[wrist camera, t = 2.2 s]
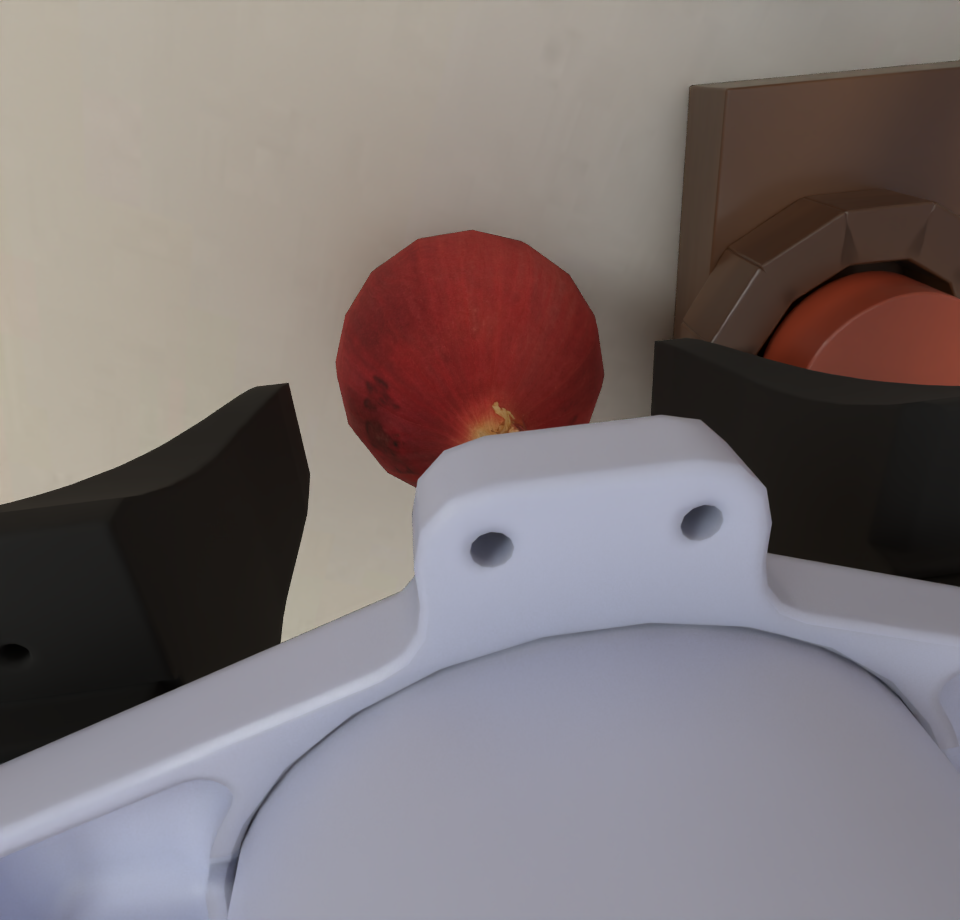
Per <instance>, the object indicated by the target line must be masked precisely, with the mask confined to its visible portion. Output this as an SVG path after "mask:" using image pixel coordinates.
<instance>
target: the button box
mask: <svg viewBox="0 0 960 920" xmlns="http://www.w3.org/2000/svg"><path fill="white" fill-rule="evenodd" d="M866 271H888V272H894V273H898V274H902V275H904V276H907V277H909V278H911V279H914V280H916V281H919V282H921V283H923V284H926V285H928V286H931V287H933V288H935V289H938V290H940V291H943V292H945V293H947V294H950V295H952V296H954V297H957V298H959V299H960V60H958V61H948V62H937V63H926V64H916V65H905V66H894V67H883V68H873V69H862V70H851V71H841V72H830V73H819V74H809V75H798V76H787V77H776V78H766V79H755V80H744V81H734V82H723V83H712V84H702V85H692V86H691V87H690V90H689V105H688V121H687V136H686V151H685V166H684V181H683V196H682V211H681V227H680V242H679V257H678V272H677V287H676V302H675V318H674V333H673V339H680V338H693V339H699V340H703V341H707V342H711V343H715V344H719V345H722V346H726V347H729V348H733V349H736V350H739V351H743V352H746V353H749V354H753V355H756V356H759V357H763V355H764V352H765V350H766V347H767V345H768V343H769V341H770V339H771V337H772V336H773V334H774V332H775V331H776V329H777V327H778V326H779V325H780V323H781V322H782V321H783V320H784V318H785V317H786V316H787V315H788V314H789V313H790V312H791V311H792V309H793V308H794V307H795V306H796V305H798V304H799V303H800V302H801V301H802V300H803V299H805V298H806V297H807V296H809V295H810V294H811V293H813V292H814V291H816V290H817V289H819V288H821V287H822V286H824V285H826V284H828V283H830V282H832V281H834V280H837V279H839V278H841V277H845V276H848V275H851V274H855V273H860V272H866Z"/></svg>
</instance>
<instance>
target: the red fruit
mask: <svg viewBox="0 0 960 920" xmlns="http://www.w3.org/2000/svg"><path fill="white" fill-rule="evenodd" d="M336 370H337V378H338V382H339V386H340V390H341V395H342V399H343V403H344V407H345V411H346V415H347V420H348V424H349V425H350V427H351V428H352V429H353V431H354V432H355V433H356V435H357V436H358V437H359V438H360V440H361V441H362V442H363V443H364V444H365V446H366V447H367V448H368V449H369V451H370V452H371V453H372V454H373V456H374V457H375V458H376V459H377V461H378V462H379V463H380V464H381V466H382V467H383V468H384V469H385V470H386V471H387V472H388V473H389V474H391V475H393V476H395V477H397V478H399V479H401V480H403V481H404V482H406V483H408V484H410V485H412V486H414V487H417V481H418V479H419V478H420V477H421V476H422V474H423V473H424V472H425V471H426V470H427V469H428V468H429V467H430V466H431V464H432V463H433V462H434V461H435V460H436V459H437V458H438V457H439V456H440V454H441V453H442V452H443V451H444V450H447V449H450V448H452V447H455V446H458V445H461V444H463V443H466V442H469V441H472V440H474V439H477V438H480V437H483V436H488V435H496V434H504V433H513V432H521V431H529V430H538V429H546V428H555V427H563V426H571V425H580V424H588V423H589V422H590V419H591V416H592V413H593V411H594V408H595V405H596V402H597V399H598V396H599V393H600V390H601V387H602V383H603V378H604V369H603V362H602V355H601V348H600V341H599V334H598V328H597V324H596V320H595V316H594V314H593V312H592V311H591V309H590V308H589V306H588V304H587V303H586V301H585V299H584V298H583V296H582V294H581V293H580V291H579V290H578V288H577V286H576V285H575V283H574V281H573V280H572V278H571V277H570V275H569V274H568V273H566V272H565V271H564V270H562V269H561V268H559V267H558V266H557V265H555V264H554V263H552V262H551V261H550V260H548V259H547V258H546V257H544V256H543V255H541V254H540V253H539V252H537V251H536V250H535V249H533V248H532V247H530V246H529V245H528V244H526V243H524V242H522V241H518V240H514V239H510V238H505V237H501V236H497V235H492V234H488V233H484V232H479V231H475V230H468V231H462V232H456V233H450V234H444V235H438V236H432V237H425V238H420V239H417V240H416V241H414V242H413V243H411V244H410V245H409V246H407V247H406V248H404V249H403V250H402V251H400V252H399V253H397V254H396V255H395V256H393V257H392V258H390V259H389V260H388V261H386V262H385V263H383V264H382V265H380V266H379V267H378V268H376V269H375V270H374V271H372V272H371V274H370V275H369V277H368V279H367V280H366V282H365V284H364V285H363V287H362V289H361V290H360V292H359V294H358V295H357V297H356V299H355V300H354V302H353V303H352V305H351V307H350V308H349V310H348V312H347V313H346V315H345V319H344V324H343V329H342V334H341V338H340V343H339V348H338V353H337V358H336Z"/></svg>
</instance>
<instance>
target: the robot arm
mask: <svg viewBox="0 0 960 920" xmlns="http://www.w3.org/2000/svg"><path fill="white" fill-rule="evenodd" d="M309 483H310V472H309V468H308V463H307V459H306V455H305V451H304V446H303V442H302V438H301V434H300V429H299V425H298V421H297V417H296V412H295V408H294V404H293V400H292V396H291V391H290V387H289V383H284V384H275V385H266V386H257V387H254V388H252V389H250V390H248V391H246V392H244V393H243V394H241V395H239V396H238V397H236V398H235V399H233V400H232V401H230V402H229V403H227V404H226V405H224V406H223V407H221V408H220V409H219V410H217V411H216V412H214V413H213V414H211V415H210V416H208V417H207V418H205V419H204V420H202V421H201V422H199V423H198V424H196V425H194V426H193V427H191V428H190V429H188V430H186V431H185V432H183V433H181V434H180V435H178V436H176V437H175V438H173V439H172V440H170V441H168V442H167V443H165V444H163V445H161V446H160V447H158V448H156V449H154V450H152V451H150V452H148V453H146V454H144V455H142V456H140V457H138V458H136V459H134V460H132V461H130V462H127V463H125V464H123V465H121V466H119V467H116V468H114V469H111V470H109V471H106V472H103V473H101V474H98V475H95V476H93V477H90V478H88V479H85V480H82V481H80V482H77V483H74V484H72V485H69V486H66V487H63V488H60V489H56V490H53V491H50V492H47V493H43V494H40V495H36V496H33V497H29V498H25V499H22V500H18V501H15V502H11V503H6V504H2V505H0V920H960V386H943V385H920V384H907V383H895V382H883V381H875V380H866V379H859V378H853V377H847V376H841V375H835V374H829V373H824V372H819V371H814V370H809V369H805V368H801V367H797V366H793V365H789V364H785V363H781V362H777V361H774V360H770V359H766V358H763V357H759V356H756V355H753V354H749V353H746V352H743V351H739V350H736V349H733V348H729V347H726V346H722V345H719V344H715V343H711V342H707V341H703V340H699V339H693V338H680V339H672V340H663V341H655V347H654V367H653V386H652V405H651V416H647V417H638V418H630V419H622V420H613V421H605V422H597V423H588V424H580V425H571V426H563V427H555V428H546V429H538V430H529V431H521V432H513V433H504V434H496V435H488V436H483V437H480V438H477V439H474V440H472V441H469V442H466V443H463V444H461V445H458V446H455V447H452V448H450V449H447V450H444V451H443V452H442V453H441V454H440V456H439V457H438V458H437V459H436V460H435V461H434V462H433V463H432V464H431V466H430V467H429V468H428V469H427V470H426V471H425V472H424V473H423V474H422V476H421V477H420V478H419V479H418V481H417V487H416V493H415V499H414V505H413V512H412V526H413V553H414V571H415V575H414V577H413V578H412V580H411V581H410V582H409V583H408V584H407V586H406V587H405V588H404V589H403V590H402V591H400V592H398V593H396V594H393V595H391V596H389V597H386V598H384V599H382V600H379V601H377V602H375V603H373V604H370V605H368V606H366V607H363V608H361V609H359V610H356V611H354V612H352V613H349V614H347V615H345V616H343V617H340V618H338V619H336V620H333V621H331V622H329V623H326V624H324V625H322V626H319V627H317V628H315V629H312V630H310V631H308V632H306V633H303V634H301V635H299V636H296V637H294V638H292V639H289V640H287V641H285V642H282V643H280V642H281V633H282V624H283V616H284V611H285V605H286V600H287V595H288V591H289V587H290V583H291V579H292V575H293V571H294V567H295V563H296V559H297V555H298V551H299V547H300V542H301V538H302V534H303V530H304V525H305V521H306V517H307V511H308V499H309Z"/></svg>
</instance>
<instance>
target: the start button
mask: <svg viewBox="0 0 960 920" xmlns="http://www.w3.org/2000/svg"><path fill="white" fill-rule="evenodd" d="M763 358H766V359H770V360H774V361H777V362H781V363H785V364H789V365H793V366H797V367H801V368H805V369H809V370H814V371H819V372H824V373H829V374H835V375H841V376H847V377H853V378H859V379H866V380H875V381H883V382H895V383H907V384H920V385H943V386H960V299H959V298H957V297H954V296H952V295H950V294H947V293H945V292H943V291H940V290H938V289H935V288H933V287H931V286H928V285H926V284H923V283H921V282H919V281H916V280H914V279H911V278H909V277H907V276H904V275H902V274H898V273H894V272H888V271H866V272H860V273H855V274H851V275H848V276H845V277H841V278H839V279H837V280H834V281H832V282H830V283H828V284H826V285H824V286H822V287H821V288H819V289H817V290H816V291H814V292H813V293H811V294H810V295H809V296H807V297H806V298H805V299H803V300H802V301H801V302H800V303H799V304H798V305H796V306H795V307H794V308H793V309H792V311H791V312H790V313H789V314H788V315H787V316H786V317H785V318H784V320H783V321H782V322H781V323H780V325H779V326H778V327H777V329H776V331H775V332H774V334H773V336H772V337H771V339H770V341H769V343H768V345H767V347H766V350H765V352H764V355H763Z"/></svg>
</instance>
